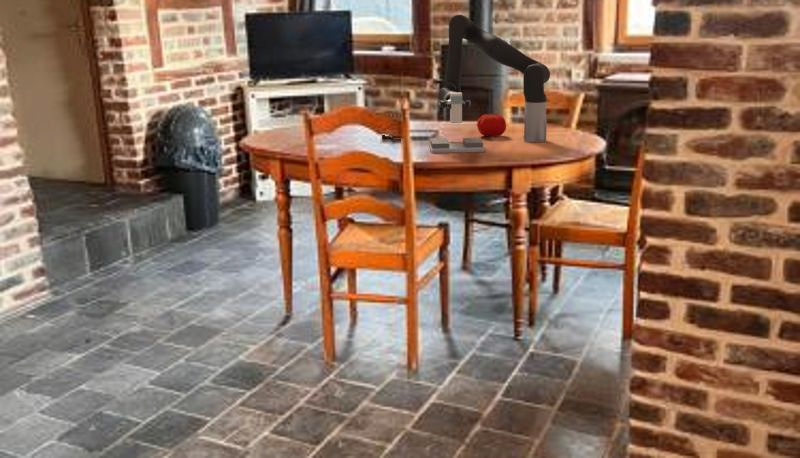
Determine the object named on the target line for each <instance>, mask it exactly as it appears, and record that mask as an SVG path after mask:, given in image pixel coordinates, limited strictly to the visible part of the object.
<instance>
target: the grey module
mask: <svg viewBox="0 0 800 458" xmlns="http://www.w3.org/2000/svg"><path fill="white" fill-rule="evenodd" d="M462 100H463V93H462V92H453V93H450V102H451V109H450V110H449V123H450V124H461V123H463V109H462Z"/></svg>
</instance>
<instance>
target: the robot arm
mask: <svg viewBox="0 0 800 458" xmlns="http://www.w3.org/2000/svg"><path fill="white" fill-rule="evenodd" d="M463 40H466V41H468V42H469V43H471V44H473V45H475V46H477V48H479V49H480V51H481V52H483V53H484V54H485V55H486V56H488V57H489V58H490V59H492V60H493V61H495V62H496V63H499V64H501V65H503V66H505V67H509V68H511V69H514V70H516V71H519V72H520V73H521V74H523V77H522V78H523V82H522V83H523V85H522V86H523V87H522V88H523V96H524V123H523V124H524V126H523V129H524V130H523V142H526V143H542V142H547V130H548V127H547V126H548V125H547V124H548V123H547V122H548V119H547V94H545V90H544V89H545V87H544V86H545V84H547V82H548V81H549V80H550V78H551V72H550V70H549V68H548V66H547V65H545V64H543V62H542V63H541V62H539V61H538V60H535V59H533V58H531V57H529V56H527V55H526V54H525V53H523V52H522V51H520V50H519V49H517V48H516V47H514V46H513V45H512V44H510V43H509V42H507V41H505V40H504V39H502V38H501V37H499V36H497V35H495V34H492V33H490V32H488V31H486V30H484V29H482V28H481V27H480V26H479V25H477V24H476V23H475V22H473V21H472V20H471V19H470V18H469V17H467V16H465V15H463V14H455V15H452V17H451V18H450V20H449V22H448V49H447V50H448V52H447V60H446V61H447V63H446V67H445V68H446V69H445V74H444V81H445V82H446V83H448V84H451V85H453V87H454V88H449V87H442V88H441V89H439V91H438V93H437V99H438V107H439V108H443V109H445V108H447V110H449V111H450V109H451V102H450V93H453V92H461V91H462V90H461V89H462V88H461V77H462V72H463V71H462V70H463V52H462V47H463ZM461 93H462V92H461ZM469 107H471V99H467V100H464V99H462V110H463V109H464V108H469Z"/></svg>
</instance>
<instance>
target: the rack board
mask: <svg viewBox="0 0 800 458" xmlns="http://www.w3.org/2000/svg"><path fill="white" fill-rule="evenodd" d="M429 140H430V141H429V144H428V146H429V147H428V148H429V150H430V153H431V154H439V153H440V154H443V153H444V154H445V153H448V154H449V153H483V152H486V151H485V150H486V149H485V148H484V142H483V140H482V139H481V138H480V137H462V142H455V143H452V142H451V143H450V142H449V140H448V138H443V137H442V138H441V137H440V138H429Z"/></svg>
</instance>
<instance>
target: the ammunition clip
mask: <svg viewBox="0 0 800 458" xmlns="http://www.w3.org/2000/svg"><path fill="white" fill-rule="evenodd" d="M382 114H383V115H384V116H386V115H387V116H388V117H389V118H390V117H392V118H394V117H395V118H396V119H397V118H398V117H400V118H401V114H400V112H398V113H397V114H396V112H394V114H392V112H390V115H389V113H388V112H387V113H386V115H385V114H384V112H383V113H382ZM381 140H382V141H383V140H384V141H386V140H394V139H393V138H391V137H390V135H389V136H385V135H382V134H381Z"/></svg>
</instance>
